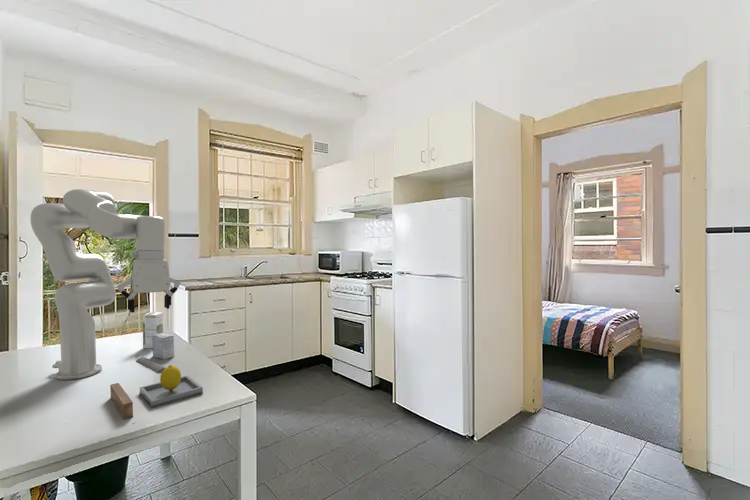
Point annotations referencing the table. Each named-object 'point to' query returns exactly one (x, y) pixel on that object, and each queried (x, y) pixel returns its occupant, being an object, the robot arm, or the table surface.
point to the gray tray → (170, 392)
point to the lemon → (170, 378)
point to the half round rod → (150, 364)
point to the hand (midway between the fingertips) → (150, 309)
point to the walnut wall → (121, 401)
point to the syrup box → (151, 327)
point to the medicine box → (163, 346)
